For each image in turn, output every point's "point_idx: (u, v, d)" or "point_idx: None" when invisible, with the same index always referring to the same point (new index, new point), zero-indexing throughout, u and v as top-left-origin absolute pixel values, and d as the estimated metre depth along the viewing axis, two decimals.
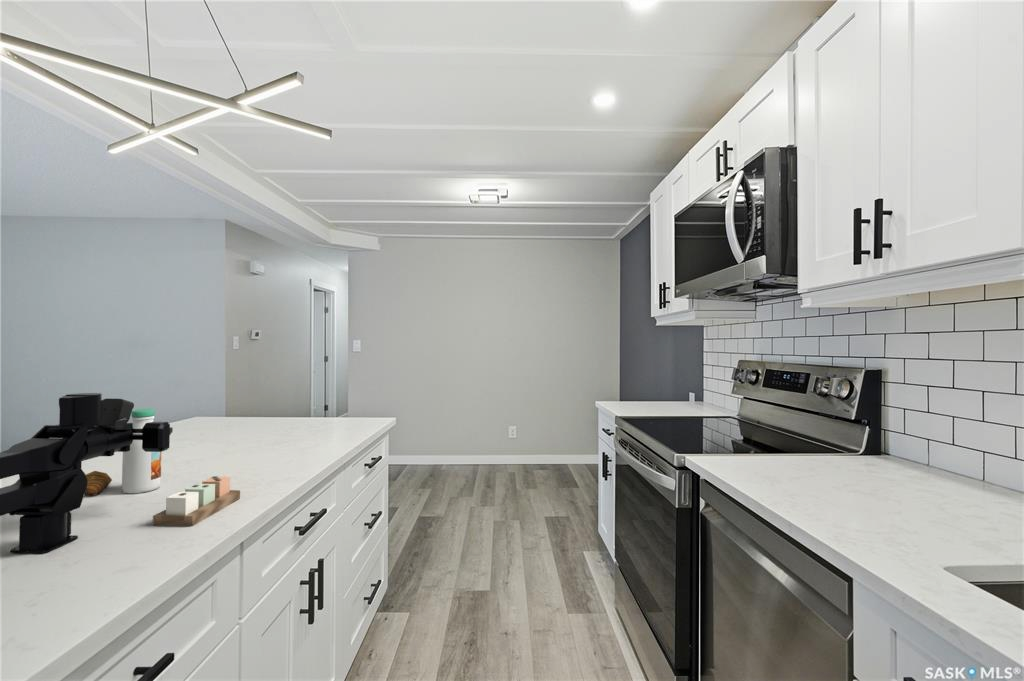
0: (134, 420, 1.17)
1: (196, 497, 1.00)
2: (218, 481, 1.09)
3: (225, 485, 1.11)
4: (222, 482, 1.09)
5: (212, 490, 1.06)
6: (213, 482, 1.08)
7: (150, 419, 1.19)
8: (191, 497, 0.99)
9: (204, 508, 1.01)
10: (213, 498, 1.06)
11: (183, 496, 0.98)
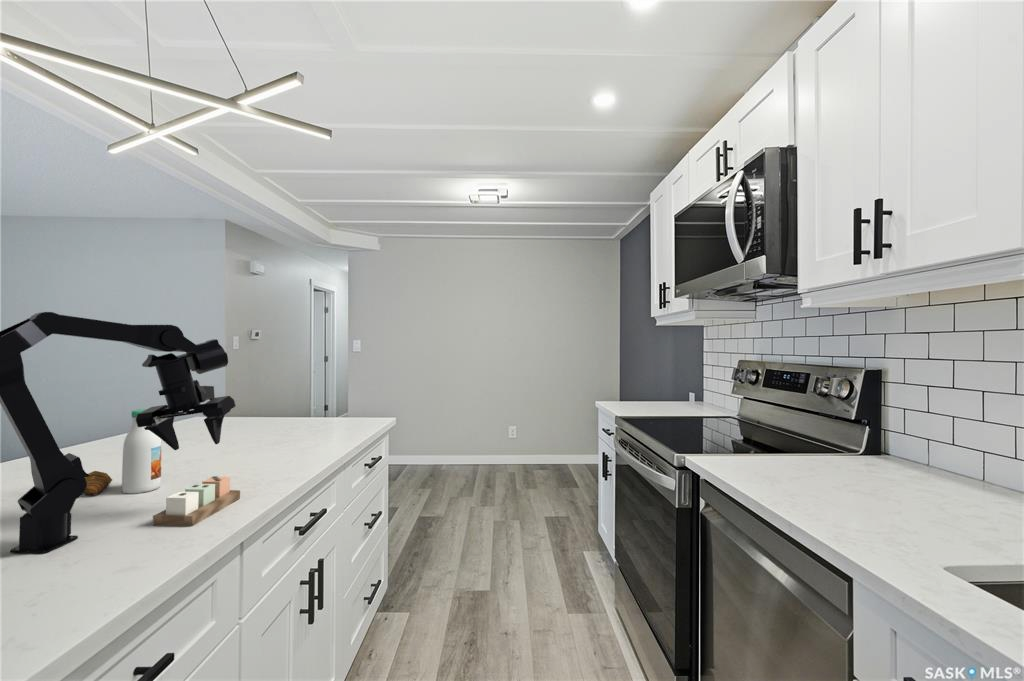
0: (134, 420, 1.17)
1: (196, 497, 1.00)
2: (218, 481, 1.09)
3: (225, 485, 1.11)
4: (222, 482, 1.09)
5: (212, 490, 1.06)
6: (213, 482, 1.08)
7: None
8: (191, 497, 0.99)
9: (204, 508, 1.01)
10: (213, 498, 1.06)
11: (183, 496, 0.98)
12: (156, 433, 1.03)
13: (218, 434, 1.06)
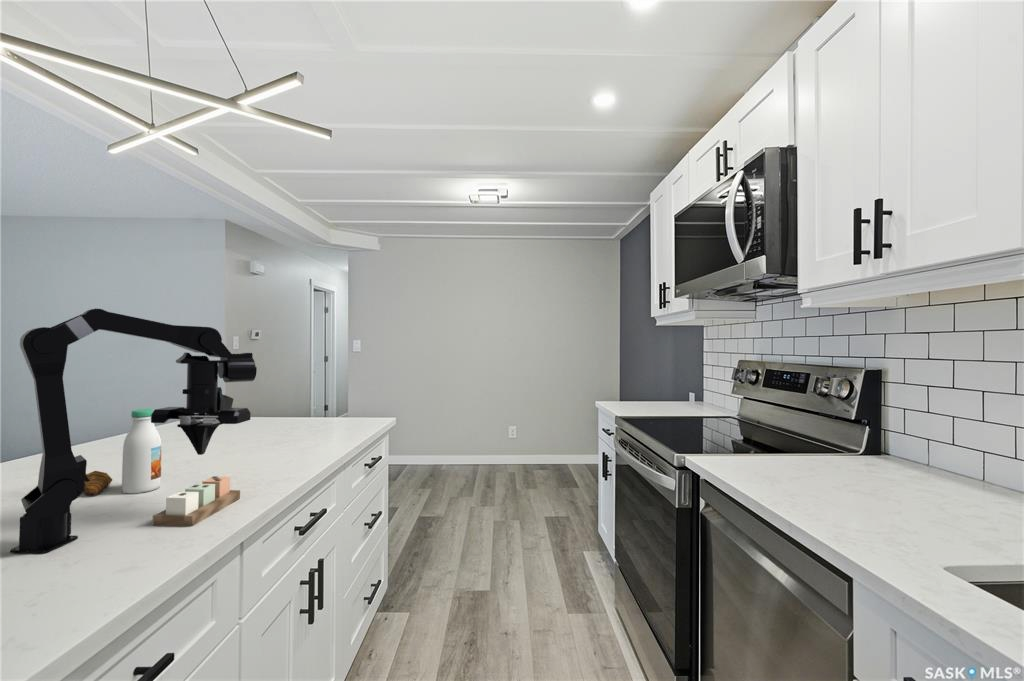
0: (134, 420, 1.17)
1: (196, 497, 1.00)
2: (218, 481, 1.09)
3: (225, 485, 1.11)
4: (222, 482, 1.09)
5: (212, 490, 1.06)
6: (213, 482, 1.08)
7: (150, 419, 1.19)
8: (191, 497, 0.99)
9: (204, 508, 1.01)
10: (213, 498, 1.06)
11: (183, 496, 0.98)
12: (186, 432, 1.02)
13: (205, 444, 1.05)
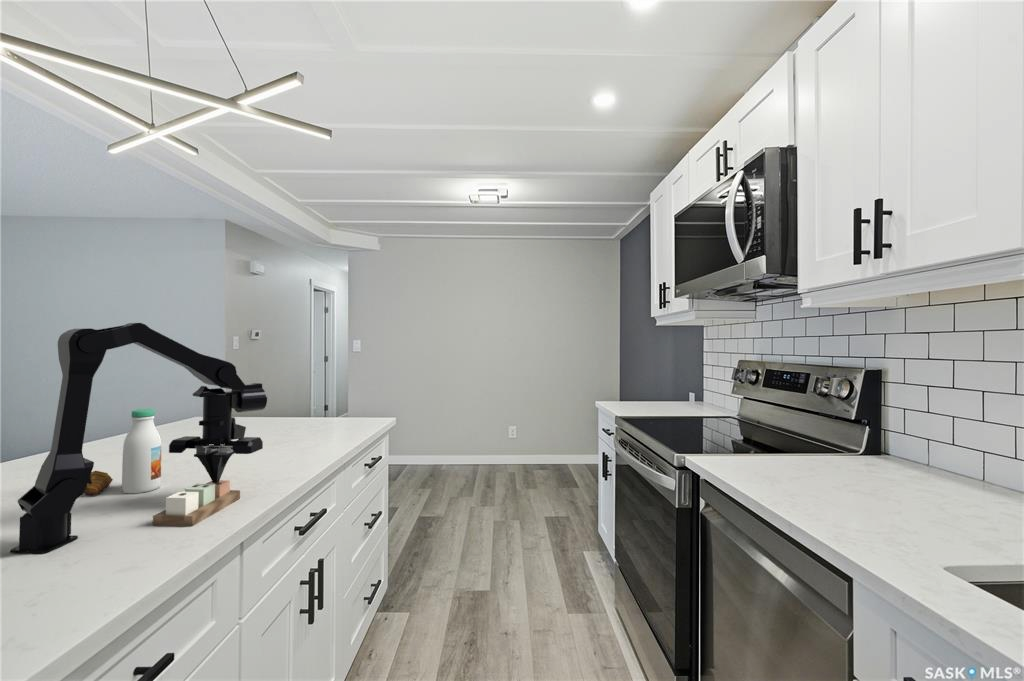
0: (134, 420, 1.17)
1: (196, 497, 1.00)
2: (218, 485, 1.09)
3: (225, 488, 1.11)
4: (222, 486, 1.09)
5: (212, 490, 1.06)
6: None
7: (150, 419, 1.19)
8: (191, 497, 0.99)
9: (204, 508, 1.01)
10: (213, 498, 1.06)
11: (183, 496, 0.98)
12: (203, 462, 1.08)
13: (220, 473, 1.10)
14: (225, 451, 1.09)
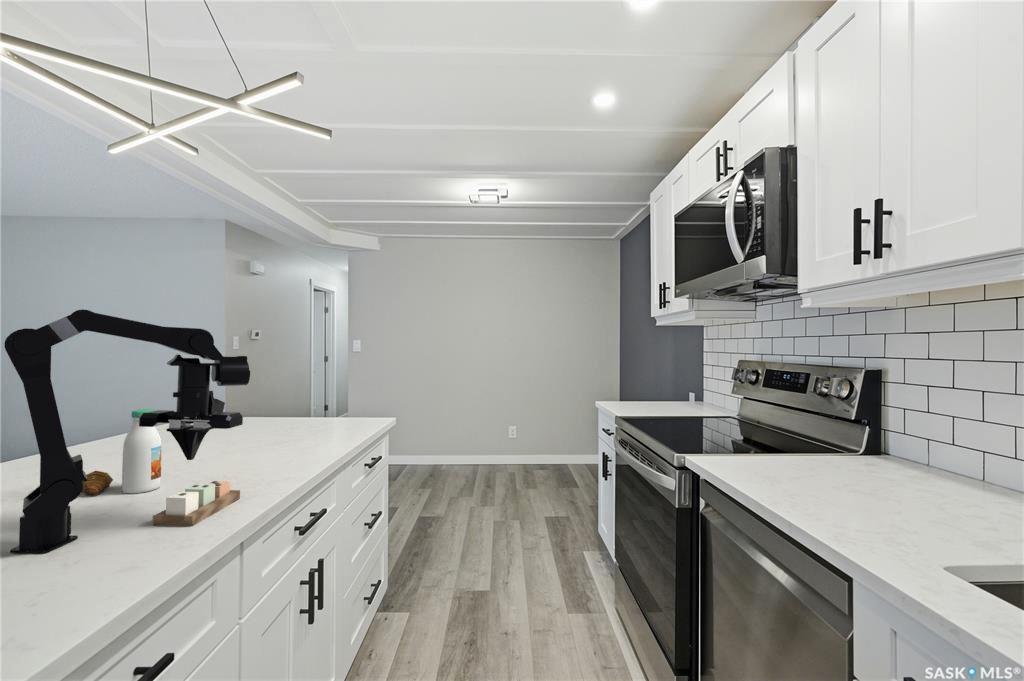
0: (134, 420, 1.17)
1: (196, 497, 1.00)
2: (218, 486, 1.09)
3: (225, 489, 1.11)
4: (222, 487, 1.09)
5: (212, 490, 1.06)
6: None
7: None
8: (191, 497, 0.99)
9: (204, 508, 1.01)
10: (213, 498, 1.06)
11: (183, 496, 0.98)
12: (176, 437, 0.99)
13: (195, 449, 1.02)
14: (201, 426, 1.01)
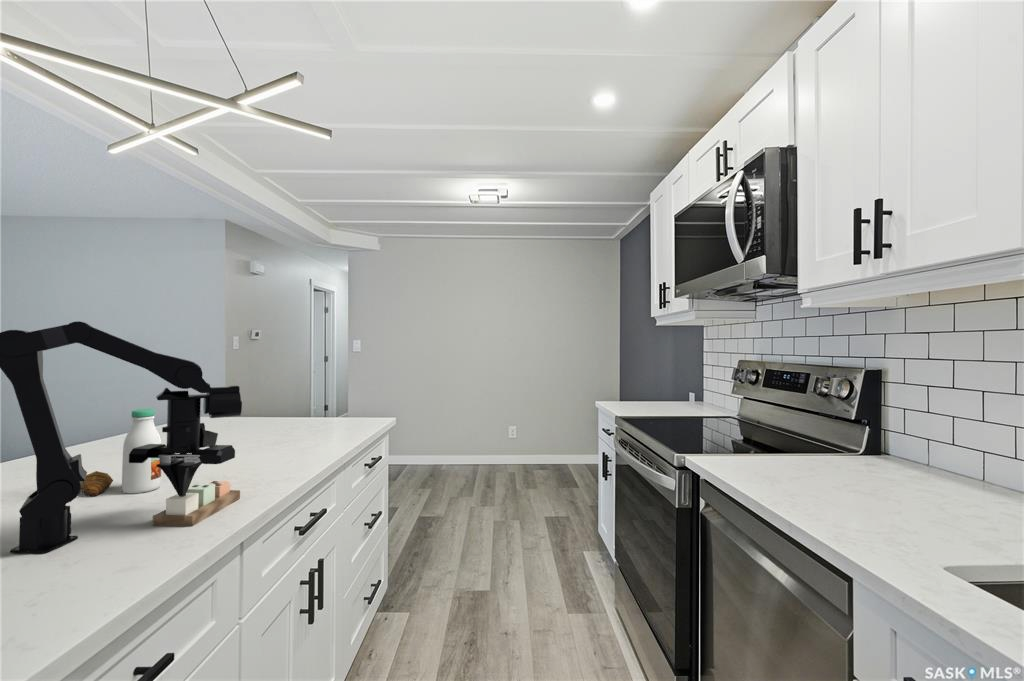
0: (134, 420, 1.17)
1: (196, 498, 1.00)
2: (218, 486, 1.09)
3: (225, 489, 1.11)
4: (222, 487, 1.09)
5: (212, 490, 1.06)
6: None
7: (150, 419, 1.19)
8: (191, 498, 0.99)
9: (204, 508, 1.01)
10: (213, 498, 1.06)
11: (183, 497, 0.98)
12: (166, 473, 0.97)
13: (187, 485, 0.99)
14: (192, 461, 0.98)
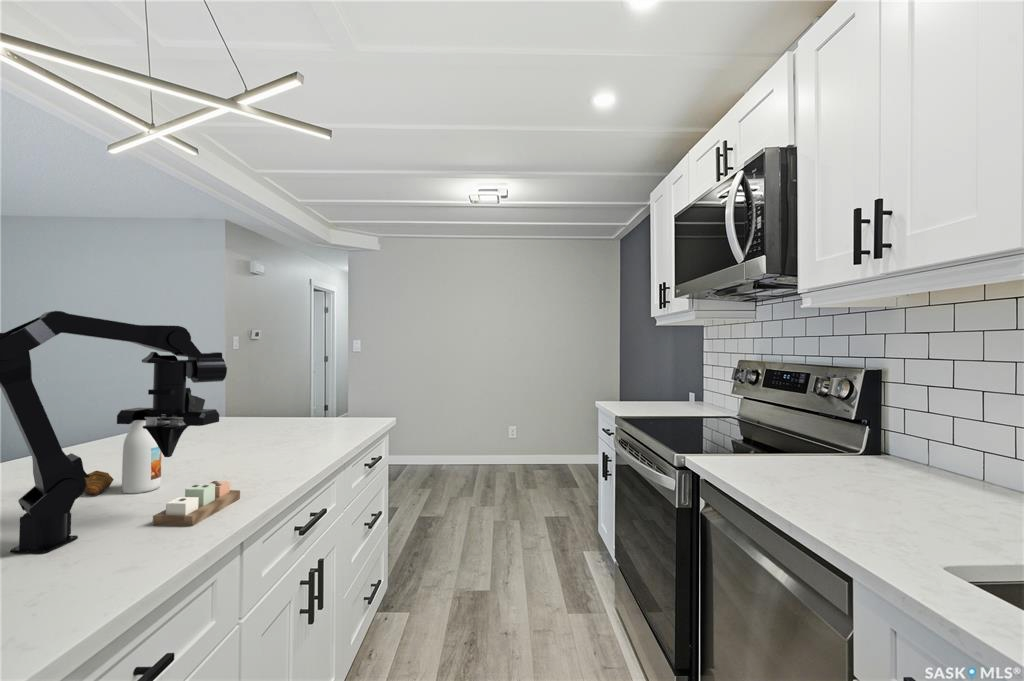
0: None
1: (196, 502, 1.00)
2: (218, 486, 1.09)
3: (225, 489, 1.11)
4: (222, 487, 1.09)
5: (212, 490, 1.06)
6: None
7: None
8: (191, 503, 0.99)
9: (204, 508, 1.01)
10: (213, 498, 1.06)
11: (183, 501, 0.98)
12: (152, 434, 0.99)
13: (172, 447, 1.02)
14: (177, 423, 1.00)
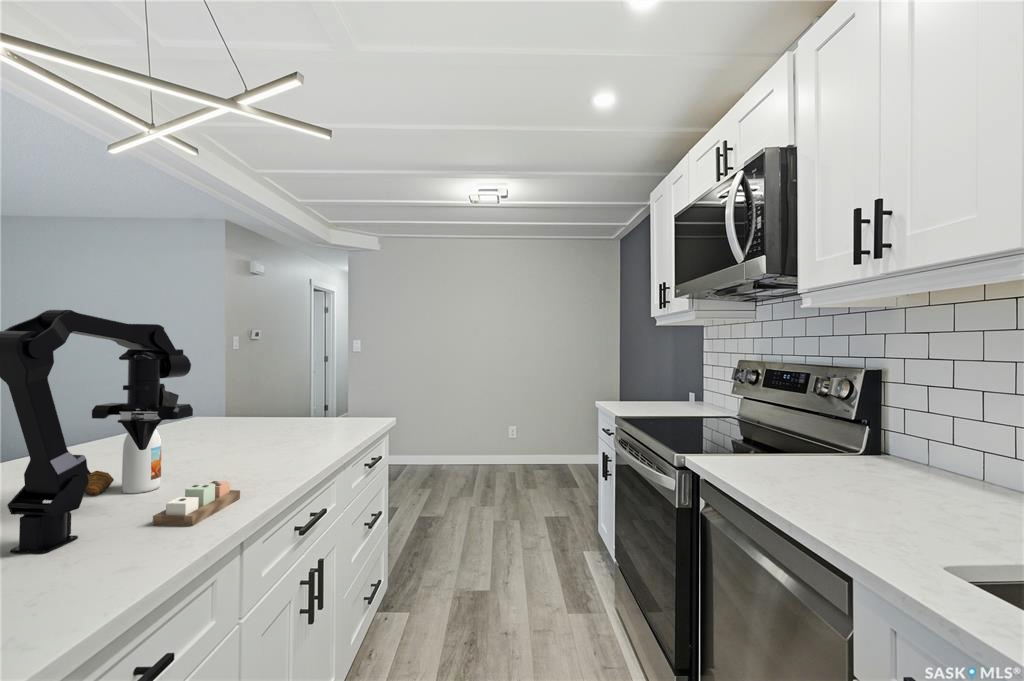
0: None
1: (196, 502, 1.00)
2: (218, 486, 1.09)
3: (225, 489, 1.11)
4: (222, 487, 1.09)
5: (212, 490, 1.06)
6: None
7: None
8: (191, 503, 0.99)
9: (204, 508, 1.01)
10: (213, 498, 1.06)
11: (183, 501, 0.98)
12: (127, 428, 1.04)
13: (147, 440, 1.06)
14: (151, 417, 1.05)
